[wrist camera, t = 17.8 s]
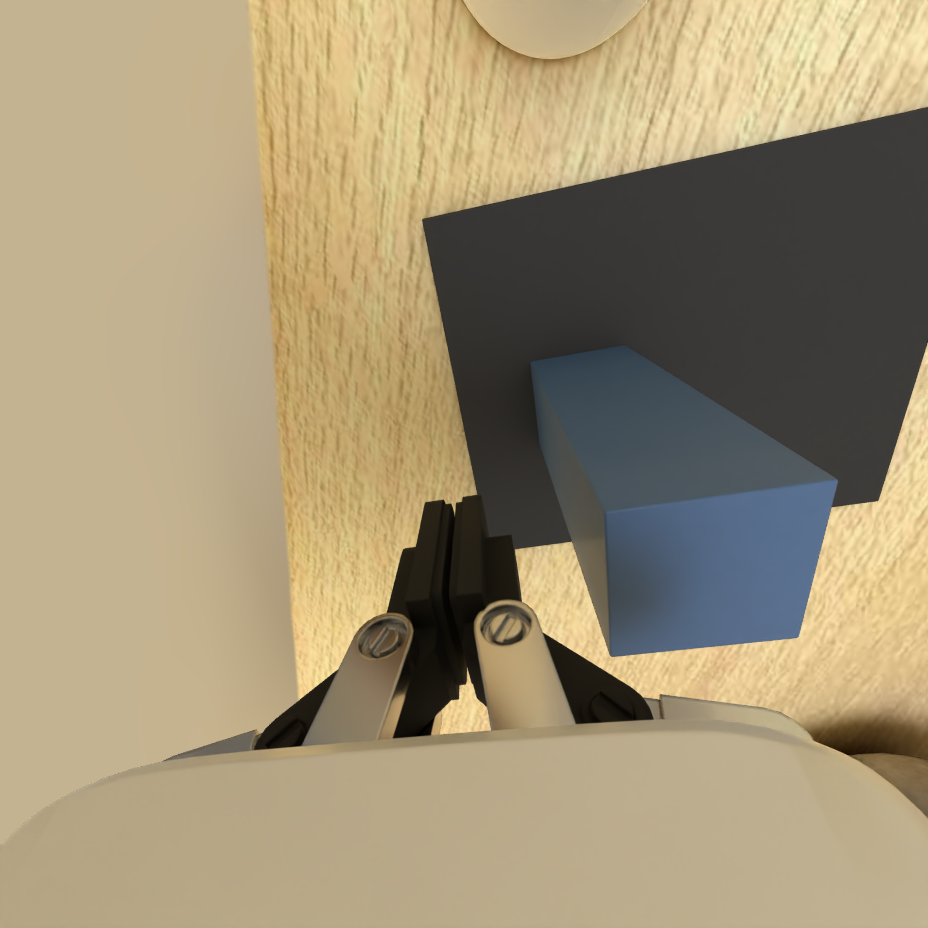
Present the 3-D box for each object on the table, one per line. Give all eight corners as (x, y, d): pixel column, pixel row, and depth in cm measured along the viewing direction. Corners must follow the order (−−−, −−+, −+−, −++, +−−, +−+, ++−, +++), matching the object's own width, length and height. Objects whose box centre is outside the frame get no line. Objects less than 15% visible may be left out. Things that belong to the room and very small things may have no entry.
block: (539, 445, 22) (610, 658, 11) (529, 361, 20) (604, 512, 9) (626, 431, 22) (799, 639, 10) (625, 344, 20) (840, 479, 8)
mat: (489, 548, 26) (489, 553, 26) (422, 219, 18) (421, 218, 17) (872, 497, 24) (878, 501, 23) (995, 93, 16) (1007, 89, 15)
